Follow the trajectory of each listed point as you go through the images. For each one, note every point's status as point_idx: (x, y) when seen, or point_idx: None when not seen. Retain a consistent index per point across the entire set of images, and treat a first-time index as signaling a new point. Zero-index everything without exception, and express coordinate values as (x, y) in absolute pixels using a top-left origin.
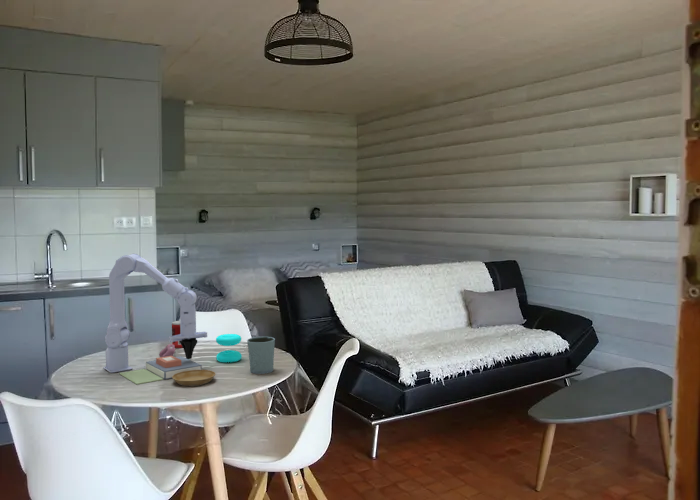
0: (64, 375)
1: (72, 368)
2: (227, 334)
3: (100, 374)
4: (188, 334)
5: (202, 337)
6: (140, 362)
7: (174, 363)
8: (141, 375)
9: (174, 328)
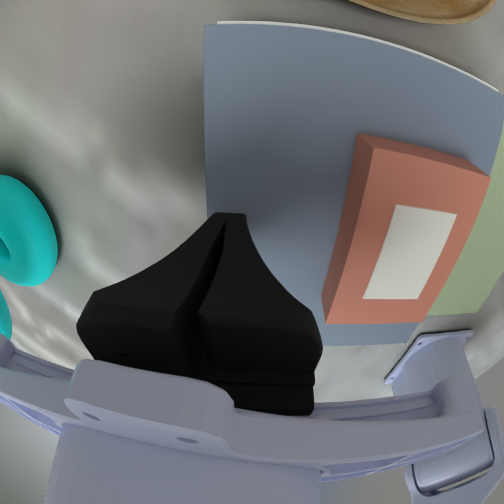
0: (500, 354)
1: None
2: None
3: (486, 330)
4: (231, 491)
5: (27, 353)
6: (332, 383)
7: (425, 153)
8: (487, 233)
9: None
